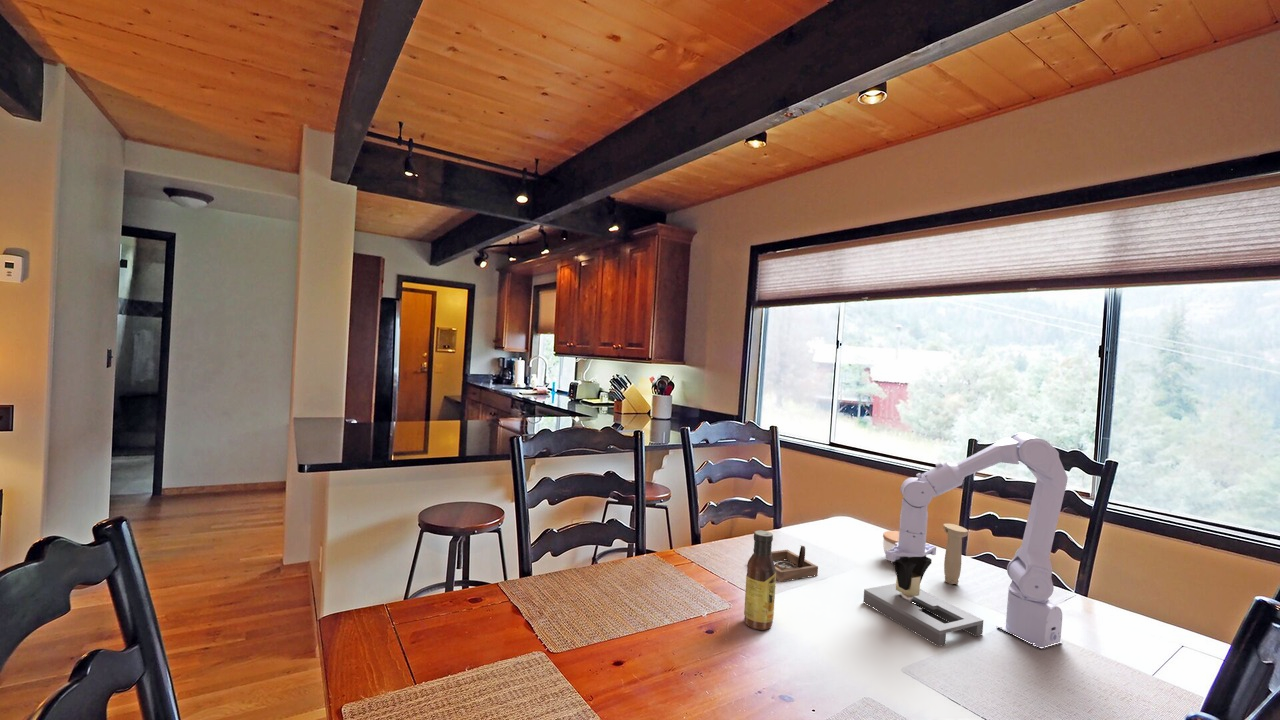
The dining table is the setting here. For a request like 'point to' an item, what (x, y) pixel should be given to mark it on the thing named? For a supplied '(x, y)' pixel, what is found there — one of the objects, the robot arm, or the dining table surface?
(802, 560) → the compass
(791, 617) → the dining table surface
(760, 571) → the sauce bottle
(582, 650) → the dining table surface
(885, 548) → the lidded jar
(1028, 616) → the robot arm
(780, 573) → the rim
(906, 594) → the keyhole peg
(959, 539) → the handle
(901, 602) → the keyhole board
